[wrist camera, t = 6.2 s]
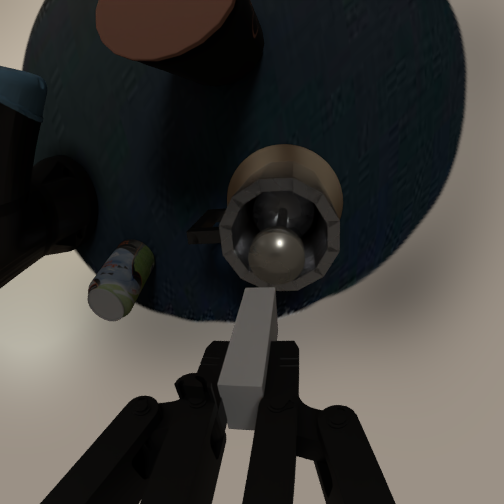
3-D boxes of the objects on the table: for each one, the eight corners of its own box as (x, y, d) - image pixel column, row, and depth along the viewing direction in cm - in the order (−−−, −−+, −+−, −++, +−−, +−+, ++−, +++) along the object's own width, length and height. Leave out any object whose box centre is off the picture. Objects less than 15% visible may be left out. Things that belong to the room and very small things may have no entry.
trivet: (234, 256, 41) (233, 258, 40) (222, 149, 36) (221, 149, 35) (341, 253, 39) (342, 255, 38) (340, 142, 33) (341, 142, 33)
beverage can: (135, 227, 41) (87, 263, 30) (171, 263, 43) (133, 310, 32) (114, 253, 44) (68, 293, 33) (147, 287, 45) (110, 334, 34)
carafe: (221, 244, 40) (193, 291, 29) (211, 166, 36) (175, 186, 25) (327, 240, 38) (338, 289, 27) (324, 159, 34) (339, 176, 23)
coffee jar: (283, 55, 30) (271, -4, 14) (208, 104, 34) (135, 91, 17) (232, -5, 27) (186, -81, 11) (163, 43, 31) (75, 5, 14)
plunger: (256, 239, 35) (235, 299, 24) (251, 182, 33) (225, 216, 21) (314, 237, 34) (322, 298, 23) (312, 179, 32) (322, 212, 20)
